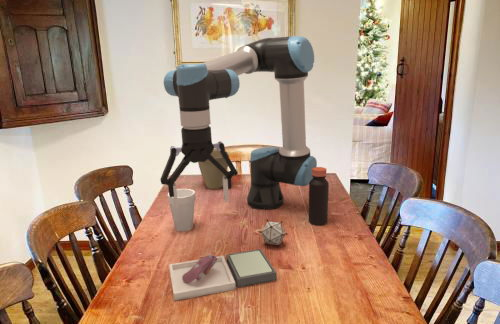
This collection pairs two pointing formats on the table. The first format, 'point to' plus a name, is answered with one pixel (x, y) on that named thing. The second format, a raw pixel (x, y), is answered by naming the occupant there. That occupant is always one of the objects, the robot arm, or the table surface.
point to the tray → (201, 280)
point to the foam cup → (183, 209)
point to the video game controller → (200, 268)
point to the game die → (273, 233)
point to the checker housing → (255, 278)
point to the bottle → (318, 197)
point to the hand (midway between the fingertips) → (201, 204)
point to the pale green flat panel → (250, 264)
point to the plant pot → (213, 171)
